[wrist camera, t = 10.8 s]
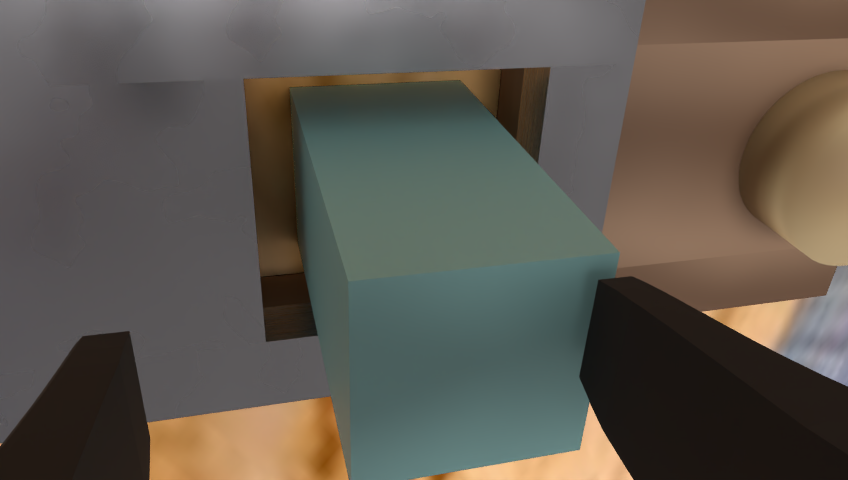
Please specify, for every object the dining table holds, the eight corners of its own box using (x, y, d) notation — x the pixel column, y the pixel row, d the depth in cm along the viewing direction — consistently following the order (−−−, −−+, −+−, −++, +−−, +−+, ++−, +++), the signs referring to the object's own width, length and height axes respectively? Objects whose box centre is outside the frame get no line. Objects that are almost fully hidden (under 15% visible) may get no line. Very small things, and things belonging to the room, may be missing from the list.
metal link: (539, 303, 24) (616, 417, 20) (-210, 393, 19) (-337, 574, 15) (591, -53, 19) (715, -8, 14) (-443, -57, 14) (-763, 13, 9)
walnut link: (796, 272, 26) (879, 337, 23) (190, 345, 21) (188, 441, 18) (910, -52, 21) (1040, -25, 18) (130, -55, 16) (111, -18, 13)
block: (450, 227, 22) (579, 449, 14) (297, 241, 21) (350, 489, 13) (460, 80, 20) (620, 252, 12) (289, 87, 18) (348, 281, 11)
